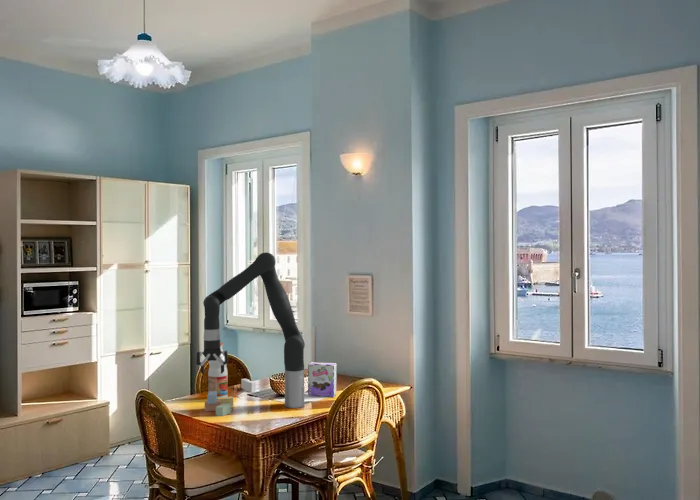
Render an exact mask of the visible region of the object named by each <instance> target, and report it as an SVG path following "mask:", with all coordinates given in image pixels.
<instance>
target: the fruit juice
mask: <svg viewBox="0 0 700 500" xmlns="http://www.w3.org/2000/svg"><path fill="white" fill-rule="evenodd" d="M223 347H224V343H223V342H221V341H220V349H221V351H224V350H223ZM220 358H221V359H222V360H223V362H224V361H225V356H223V354H221V355H220ZM208 365H209V366H208V367H209V368H208V373H207V375H208V377H207V378H208V379H207V381H208V382H207V383H208V389H207V390H208V392H207V394H208V393H209V391H217V398H220V397H229V396H228V394H229V393H228V390H229V389H228V387H229V386H228V384H229V383H228V380H229V379H228V375H229V374H228V373H229V372H228V367H227V365H228V363H227V364H225V365H224V372H223V373H221V364H220V363H219V362H218V361H217V360H216V361H213V360H211V361H208Z"/></svg>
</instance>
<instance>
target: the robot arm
mask: <svg viewBox="0 0 700 500" xmlns="http://www.w3.org/2000/svg"><path fill="white" fill-rule="evenodd" d="M276 262H277V261H276V257H275V256H274V255H273V254H272V253H270V252H262V253H260V254H259V255H257V256H256V258H255V260H254V261H253V262H252V263H251V264H250V265H248V267H246V268H245V269H244V270H242V271H241V272H240V273H238V274H237V275H235V276H233V277H232V278H230V279H229V280H228V281H226V282H225V283H224V284H222V285H221V286H220V287H219V288H217V290H214V291H213V292H211V293H210V294H209V295H207V296H205V298H204V300H203V301H202V302H203V307H204V319H203V337H202V338H203V351H200V350H198V351H197V352H196V362H195V363H196V365H197V366H200V373H201V374H202V375H204V374H205V365H204V364H205V363H206V362H207V361H208V362H209V361H211V360H213V361H216V360H217V361H218V362H219V363H220V364H221V373H223V372H224V365H225V364H227V365H228V363H229V355H228V350H223V351H221V349H220V342H221V330H220V329H221V328H220V326H221V325H220V312H221V311H220V310H221V309H220V308H221V305H222V304H223V303H224V302H226V301H228V300H230V299H231V298H233V297H234V296H235V295H237V294H238V293H239V292H240V291H242V290H243V289H244V288H245V287H246V286H248V285H249V284H250V283H251V282H252V281H254V280H255V279H257V278H258V277H260V279H261V280H262V283H263V285H264V289H265V294H266V297H267V299H268V303H269V306H270V309H271V312H272V314H273V316H274V319H275V320H276V321H277V322H278V324H279V326H280V328H281V331H282V333H283V338H284V341H285V342H284V346H283V359H284V360H283V363H284V365H283V366H284V407H285V408H288V409H289V408H291V409H297V408H304V407H305V362H304V361H305V359H304V356H305V355H304V352H305V351H304V349H305V345H306V344H305V340H304V339H303V336H302V334H301V332H300V330H299V327H298V325H297V323H296V319H295V316H294V312H293V308H292V305H291V302H290V300H289V297H288V295H287V292H286V290H285V288H284V287H283V284H282V283H281V282H280V280H279V277H278V274H277V270H276ZM221 354H223V356H225V361H224V362H223V360H222V359H221V358H220V355H221ZM202 355H203V356H204V359H203V360H202V361H201V357H202Z"/></svg>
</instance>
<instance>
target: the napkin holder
mask: <svg viewBox="0 0 700 500" xmlns="http://www.w3.org/2000/svg"><path fill="white" fill-rule="evenodd" d="M240 383H241V385H240V386H241V387H240V389H243V390H244V391H246V392H249V393H255V392H256V381H252V380H250V379H248V378H241V381H240Z"/></svg>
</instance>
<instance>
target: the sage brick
mask: <svg viewBox="0 0 700 500" xmlns="http://www.w3.org/2000/svg"><path fill="white" fill-rule="evenodd" d="M231 413H232V406H231V404H228V403H224V404H221V405H219V406H217V407H216V411H215V416H218V417H224V416H226V415H228V414H231Z"/></svg>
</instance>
